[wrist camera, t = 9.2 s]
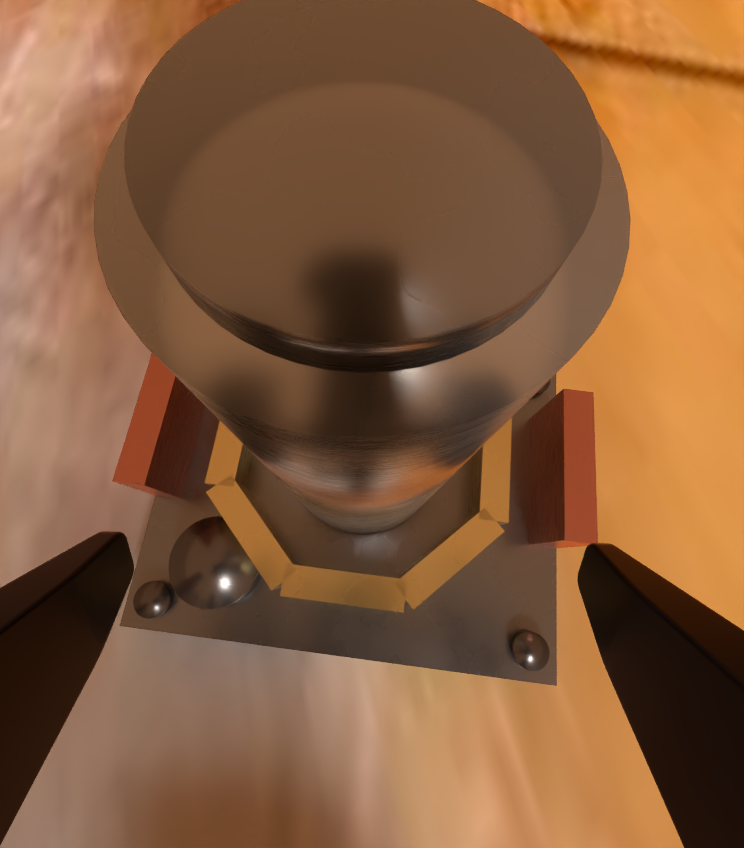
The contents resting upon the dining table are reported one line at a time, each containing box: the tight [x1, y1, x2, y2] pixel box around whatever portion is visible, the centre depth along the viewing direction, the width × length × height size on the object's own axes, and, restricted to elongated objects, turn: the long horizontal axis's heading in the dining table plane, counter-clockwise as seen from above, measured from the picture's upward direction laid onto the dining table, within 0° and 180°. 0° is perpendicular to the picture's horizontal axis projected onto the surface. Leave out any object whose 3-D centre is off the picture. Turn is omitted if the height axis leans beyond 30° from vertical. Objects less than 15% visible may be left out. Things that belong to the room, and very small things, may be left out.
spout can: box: [94, 0, 630, 534], centre depth 11 cm, size 8×6×14 cm, turn 178°
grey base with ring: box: [113, 353, 598, 686], centre depth 16 cm, size 12×15×5 cm
